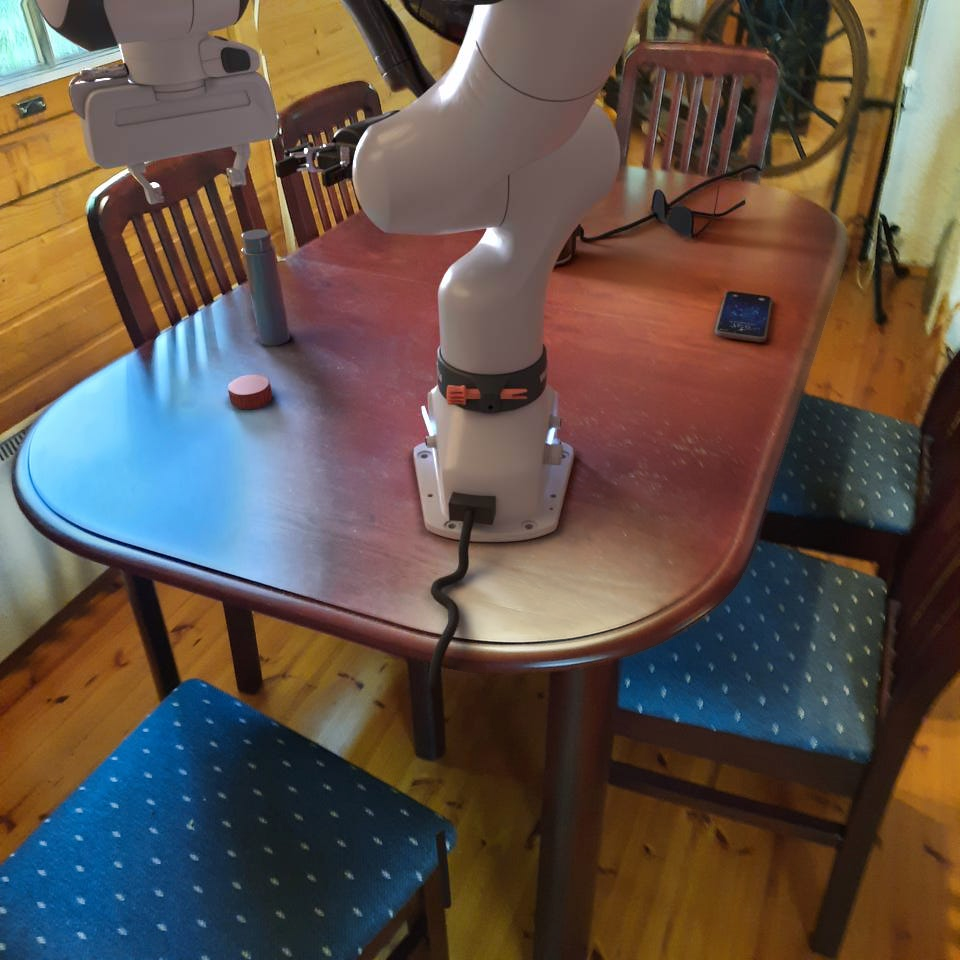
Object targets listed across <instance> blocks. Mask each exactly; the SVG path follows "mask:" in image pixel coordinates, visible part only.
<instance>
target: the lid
mask: <svg viewBox="0 0 960 960" xmlns="http://www.w3.org/2000/svg"><path fill="white" fill-rule="evenodd" d="M227 388H228V389H227V392H228V396H229V401H230V404H231V405H232V406H233V407H234V408H236V409H239V410H255V409H258V408H262V407H264V406H266V405H267V404H269V403H270V402H271V400H272V398H273V392H272V386H271V383H270V380H269V378H268V377H267V376H265V375H262V374H255V373H254V374H252V373H251V374H244V375H241V376H238V377H236V378H234V379H232V380H231V381H230V382H229V384H228V386H227Z"/></svg>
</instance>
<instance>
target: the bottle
mask: <svg viewBox="0 0 960 960" xmlns="http://www.w3.org/2000/svg"><path fill="white" fill-rule="evenodd" d="M271 237H272V236H271V233H270V232H269V230H266V229H260V228H258V229H257V228H256V229H250V230H247V231H244V232H243V233H242V234H241V239H242V240H241V243H242V245H243V247H242V249H241V254H242V259H243V264H244V270H245V274H246V280H247V284H248V289H249V293H250V299H251V304H252V310H253V315H254V322H255V326H256V331H257V337H258V340H259V343H260V344H261V345H264V346H267V347H269V346H270V347H273V346H280V345H282V344H285V343H287V342H288V341H289V340H290V339H291V334H290V330H289V323H288V317H287V311H286V306H285V300H284V294H283V293H284V292H283V288H282V282H281V277H280V270H279V264H278V259H277V253H276V248H275V245H274V244H273V243H272V240H271Z"/></svg>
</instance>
